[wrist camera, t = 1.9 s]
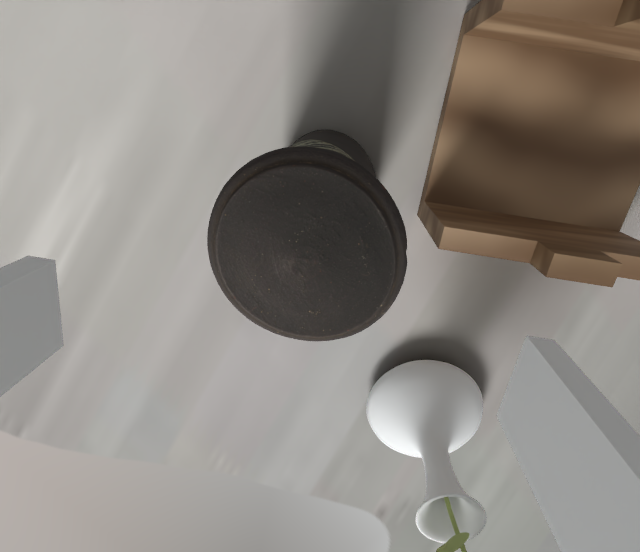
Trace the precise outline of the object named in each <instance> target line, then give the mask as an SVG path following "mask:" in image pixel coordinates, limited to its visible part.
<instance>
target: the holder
mask: <svg viewBox="0 0 640 552" xmlns="http://www.w3.org/2000/svg"><path fill="white" fill-rule="evenodd" d="M639 185H640V0H481V1H480V2H479V3H478V4H476V5H475V6H474V7H473V8H472V9H470V10H469V11H468V12H467V13H466V14H464V18H463V22H462V26H461V31H460V35H459V39H458V43H457V48H456V52H455V56H454V60H453V65H452V69H451V73H450V77H449V82H448V86H447V90H446V94H445V99H444V103H443V107H442V111H441V116H440V120H439V124H438V129H437V133H436V137H435V141H434V146H433V150H432V154H431V158H430V163H429V167H428V171H427V175H426V180H425V184H424V188H423V192H422V197H421V201H420V205H419V210H418V214H417V215H418V217H419V218H420V220H421V221H422V223H423V225H424V226H425V228H426V229H427V231H428V233H429V234H430V236H431V237H432V239H433V241H434V242H435V244H436V245H437V247H438V249H443V250H450V251H456V252H462V253H469V254H475V255H481V256H488V257H494V258H501V259H507V260H513V261H520V262H526V263H530V264H532V265H533V266H534V267H535V268H536V269H537V270H539V271H540V272H541V273H542V274H543V275H544V276H546V277H550V278H557V279H563V280H569V281H576V282H582V283H589V284H595V285H601V286H608V287H613V285H614V283H615V280H616V278H617V277H622V278H628V279H634V280H640V241H639V240H637V239H634V238H632V237H630V236H628V235H626V234H624V233H621V232H619V231H620V229H621V227H622V224H623V222H624V220H625V217H626V215H627V213H628V210H629V208H630V206H631V203H632V201H633V199H634V196H635V194H636V192H637V189H638V187H639Z"/></svg>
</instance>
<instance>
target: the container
mask: <svg viewBox="0 0 640 552" xmlns="http://www.w3.org/2000/svg"><path fill="white" fill-rule="evenodd" d="M406 249H407V238H406V231H405V226H404V223H403V220H402V218H401V215H400V213H399V210H398V208H397V206H396V204H395V202H394V201H393V199H392V197H391V196H390V194H389V193H388V191H387V190H386V189H385V187H384V186H383V185H382V184H381V183H380V181H379V180H378V179H377V178H376V176H375V172H374V168H373V166H372V163H371V161H370V159H369V157H368V155H367V154H366V152H365V151H364V150H363V148H362V147H361V146H360V145H359V144H358V143H357V142H356V141H355V140H353V139H352V138H350V137H349V136H347V135H345V134H343V133H340V132H337V131H333V130H317V131H314V132H311V133H308V134H306V135H305V136H303V137H301V138H300V139H298V141H296V142H295V143H294V144H293V145H292V146H291V147H287V148H282V149H277V150H274V151H271V152H268V153H265V154H263V155H261V156H259V157H257V158H255V159H253V160H251V161H250V162H248V163H247V164H246V165H244V166H243V167H242V168H240V169H239V170H238V171H237V172H236V173H235V174H234V175H233V176H232V177H231V178H230V180H229V181H228V182H227V183H226V184H225V185H224V187H223V189H222V191H221V192H220V194H219V196H218V198H217V200H216V202H215V204H214V207H213V210H212V213H211V217H210V221H209V227H208V253H209V259H210V263H211V267H212V270H213V273H214V275H215V278H216V280H217V282H218V284H219V286H220V288H221V289H222V291H223V293H224V294H225V296H226V297H227V298H228V300H229V301H230V302H231V303H232V304H233V305H234V306H235V307H236V308H237V309H238V310H239V311H240V312H241V313H242V314H243V315H244V316H246V317H247V318H248V319H249V320H251V321H252V322H254V323H255V324H257V325H259V326H261V327H263V328H264V329H267V330H269V331H271V332H273V333H276V334H279V335H282V336H285V337H289V338H294V339H299V340H306V341H329V340H335V339H340V338H345V337H348V336H351V335H354V334H356V333H358V332H361V331H362V330H364V329H366V328H368V327H369V326H371V325H372V324H373V323H375V322H376V321H377V320H378V319H380V318H381V317H382V316H383V315H384V314H385V313H386V312H387V310H388V309H389V308H390V306H391V305H392V304H393V302H394V301H395V299H396V297H397V295H398V293H399V291H400V289H401V286H402V284H403V281H404V277H405V273H406V268H407V256H406Z"/></svg>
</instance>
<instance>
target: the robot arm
mask: <svg viewBox="0 0 640 552" xmlns="http://www.w3.org/2000/svg"><path fill="white" fill-rule="evenodd" d="M62 346H64V344H63V334H62V324H61V314H60V304H59V294H58V284H57V274H56V264H55V260H51V259H45V258H39V257H33V256H26V257H24V258H22V259H20V260H17V261H15V262H13V263H11V264H8V265H6V266H4V267H2V268H0V397H1V396H2V395H3V394H4V393H6V392H7V391H8V390H9V389H10V388H12V387H13V386H14V385H15V384H17V383H18V382H19V381H20V380H22V379H23V378H24V377H25V376H27V375H28V374H29V373H30V372H31V371H33V370H34V369H35V368H36V367H38V366H39V365H40V364H41V363H43V362H44V361H45V360H46V359H48V358H49V357H50V356H51V355H52V354H54V353H55V352H56V351H57V350H59V349H60V348H61V347H62ZM497 418H498V420H499V422H500V424H501V426H502V428H503V431H504V433H505V435H506V437H507V439H508V441H509V443H510V445H511V447H512V449H513V452H514V454H515V456H516V458H517V460H518V462H519V464H520V466H521V468H522V470H523V473H524V475H525V477H526V479H527V481H528V483H529V485H530V487H531V489H532V491H533V494H534V496H535V498H536V500H537V502H538V504H539V506H540V508H541V510H542V512H543V515H544V517H545V519H546V521H547V523H548V525H549V527H550V529H551V531H552V533H553V536H554V538H555V540H556V542H557V544H558V546H559V548H560V550H561V552H640V436H639V434H638V433H637V432H636V431H635V430H634V429H633V428H632V427H631V425H630V424H629V423H628V422H627V421H626V420H625V419H624V418H623V416H622V415H621V414H620V413H619V412H618V411H617V410H616V409H615V407H614V406H613V405H612V404H611V403H610V402H609V401H608V400H607V398H606V397H605V396H604V395H603V394H602V393H601V392H600V391H599V389H598V388H597V387H596V386H595V385H594V384H593V383H592V382H591V380H590V379H589V378H588V377H587V376H586V375H585V374H584V373H583V371H582V370H581V369H580V368H579V367H578V366H577V365H576V364H575V362H574V361H573V360H572V359H571V358H570V357H569V356H568V355H567V353H566V352H565V351H564V350H563V349H562V348H561V347H560V346H559V344H558V343H557V342H556V341H555V340H552V339H545V338H539V337H533V336H526V338H525V341H524V344H523V346H522V349H521V352H520V354H519V357H518V360H517V362H516V365H515V368H514V370H513V373H512V376H511V378H510V381H509V384H508V386H507V389H506V392H505V394H504V397H503V400H502V402H501V405H500V408H499V410H498V413H497Z"/></svg>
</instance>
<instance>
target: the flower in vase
mask: <svg viewBox="0 0 640 552" xmlns="http://www.w3.org/2000/svg"><path fill="white" fill-rule="evenodd" d="M366 412H367V418H368V421H369V423H370V426H371V427H372V429H373V431H374V432H375V434H376V435H377V437H378V438H379V439H380V440H381V441H382V442H383V443H384V444H385V445H387V446H388V447H390V448H391V449H393V450H395V451H397V452H400V453H402V454H406V455H409V456H413V457H420V458H422V459H423V463H424V468H425V474H426V495H425V499H424V502H423V503H422V504H421V506H420V507H419V509H418V511H417V514H416V524H417V527H418V529H419V530H420V532H421V533H422V534H423V535H425V536H426V537H427V538H429V539H431V540H434V541H436V542H440V543H445V544H444V545H442V546H441V547H439V548H438V549H437V551H436V552H454V551H456V550H457V549H459V548H461V551H462V552H467V551H466V548H465V545H464V543H465V542H466V541H467V540H470V539H472V538H473V537H475V536H476V535H478V534H479V533H480V532H481V531H482V530H483V528H484V526H485V524H486V518H487V517H486V512H485V510H484V508H483V507H482V505H481V504H480V503H479V502H478V501H477V500H475V499H474V498H472V497H470V496H469V495H468V494H466V492H465V491H464V490H463V489H462V487H461V485H460V483H459V482H458V480H457V477H456V475H455V473H454V471H453V468H452V465H451V462H450V457H449V453H451V452H453V451H455V450H456V449H458V448H460V447H461V446H462V445H464V444H465V443H466V442H467V441H468V440H469V439H470V438H471V437H472V436H473V435H474V434H475V432H476V431H477V429H478V427H479V425H480V422H481V419H482V413H483V398H482V394H481V391H480V389H479V387H478V385H477V384H476V382H475V381H474V380H473V379H472V377H471V376H470V375H469V374H467V373H466V372H465V371H463V370H462V369H460V368H458V367H456V366H454V365H452V364H449V363H445V362H441V361H435V360H416V361H410V362H407V363H404V364H401V365H399V366H396V367H395V368H393V369H391V370H389V371H388V372H387V373H385V374H384V375H383V376H382V377H381V378H379V379H378V381H377V382H376V383H375V384H374V386H373V387H372V389H371V391H370V393H369V396H368V399H367V405H366Z"/></svg>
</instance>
